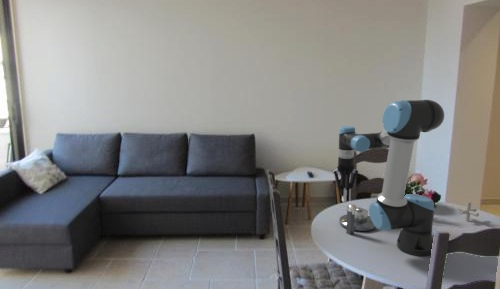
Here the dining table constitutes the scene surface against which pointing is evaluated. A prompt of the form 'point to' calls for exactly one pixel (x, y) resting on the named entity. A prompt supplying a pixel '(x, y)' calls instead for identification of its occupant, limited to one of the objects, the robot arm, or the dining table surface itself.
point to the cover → (361, 215)
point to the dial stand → (350, 219)
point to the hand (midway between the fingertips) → (344, 201)
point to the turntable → (358, 226)
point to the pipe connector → (468, 211)
